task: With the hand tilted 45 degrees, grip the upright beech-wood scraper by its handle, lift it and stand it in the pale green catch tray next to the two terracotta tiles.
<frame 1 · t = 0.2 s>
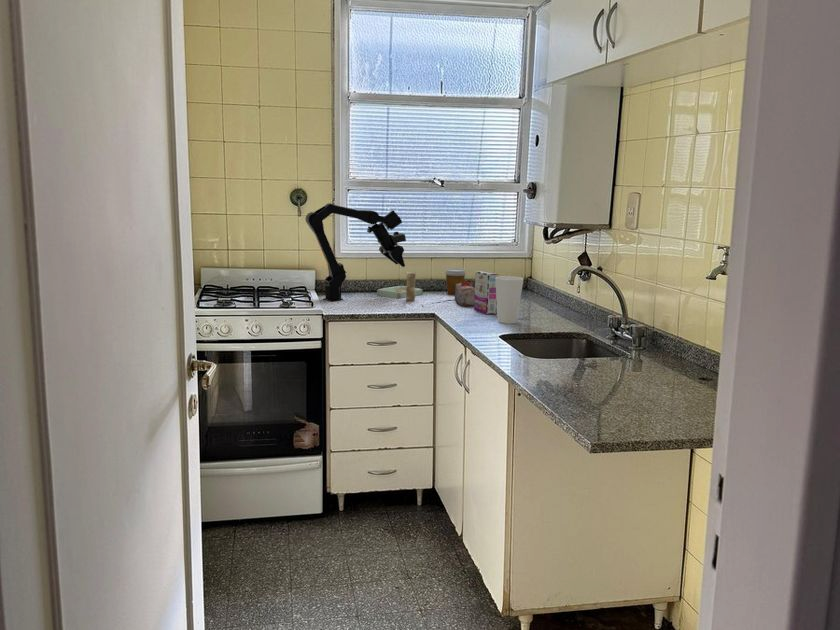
hand: (400, 265, 340), 15 cm above the worktop, tool tilted 35°, fingers open, 9 cm apart
candy bar box: (485, 312, 314), on the worktop
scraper: (410, 302, 331), on the worktop
catch tray: (399, 296, 345), on the worktop
tile a: (411, 294, 347), point 1 cm above the worktop, touching catch tray
food item: (464, 304, 331), on the worktop
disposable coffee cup: (454, 296, 352), on the worktop
tile b: (402, 292, 350), point 1 cm above the worktop, touching catch tray
cup: (507, 322, 294), on the worktop
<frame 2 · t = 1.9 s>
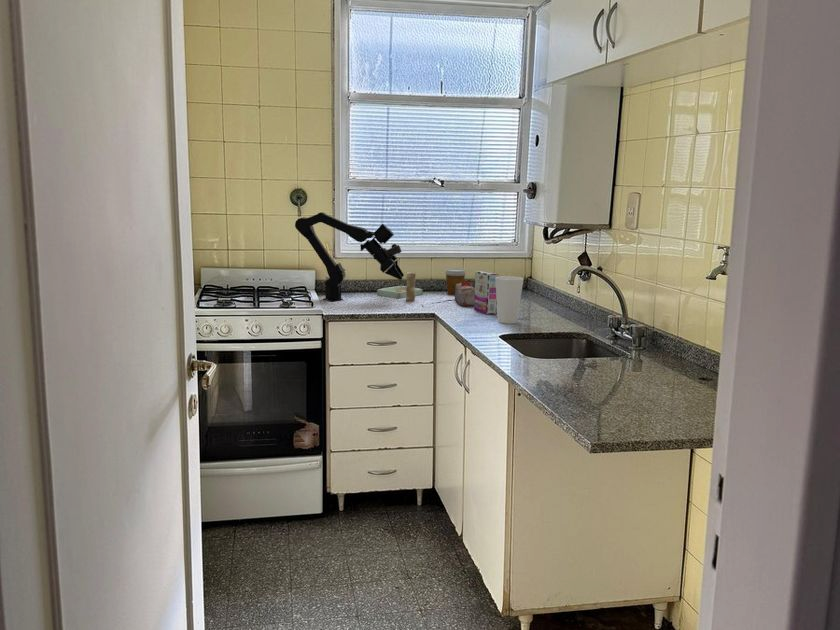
hand: (402, 277, 329), 11 cm above the worktop, tool tilted 45°, fingers open, 9 cm apart
nothing on the worktop moved.
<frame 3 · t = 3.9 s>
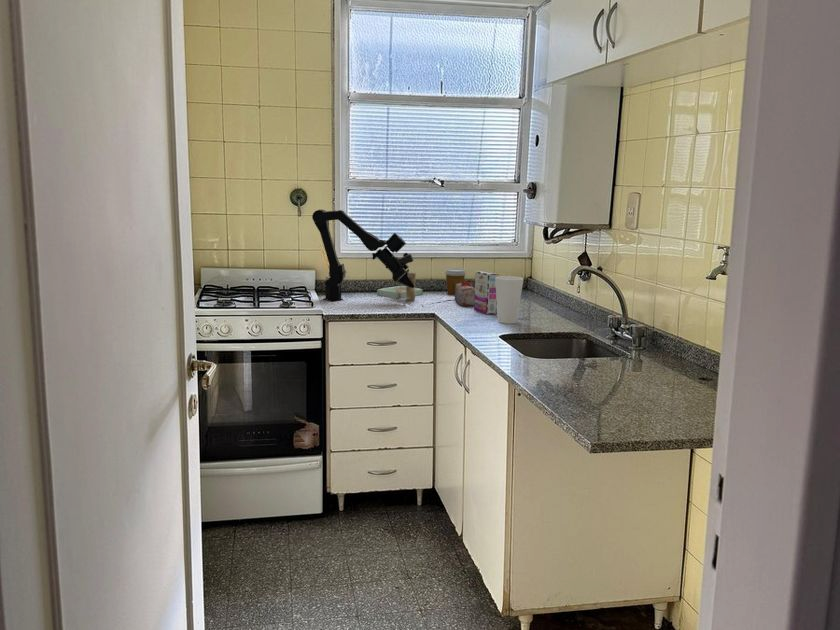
hand: (414, 286, 329), 7 cm above the worktop, tool tilted 45°, fingers closed on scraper, 4 cm apart
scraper: (410, 302, 331), on the worktop, touching gripper
everything else where it was.
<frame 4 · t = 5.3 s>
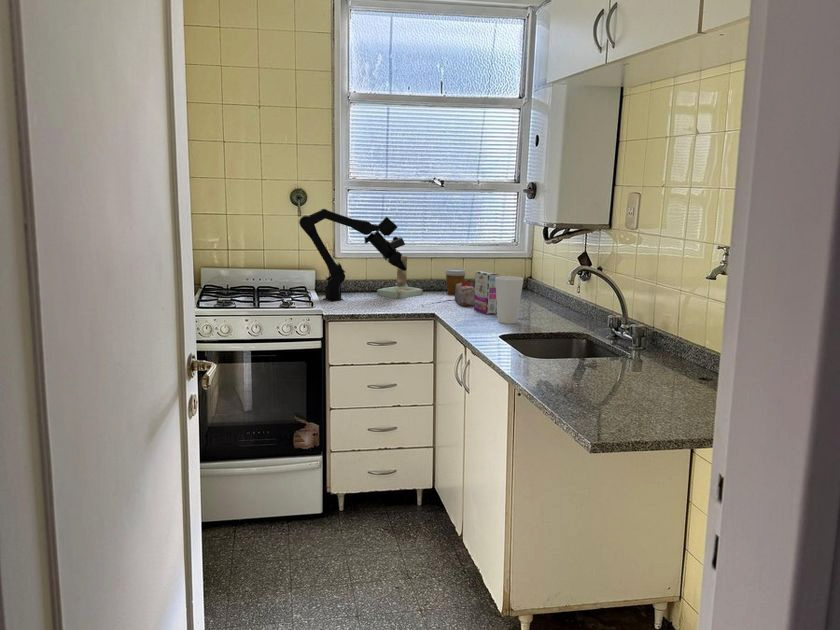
hand: (405, 269, 336), 13 cm above the worktop, tool tilted 45°, fingers closed on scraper, 4 cm apart
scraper: (401, 285, 337), point 6 cm above the worktop, touching gripper
everything else where it was.
when the fingers open (9 cm above the worktop, at t = 6.9 s): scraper drops 1 cm, resting on catch tray.
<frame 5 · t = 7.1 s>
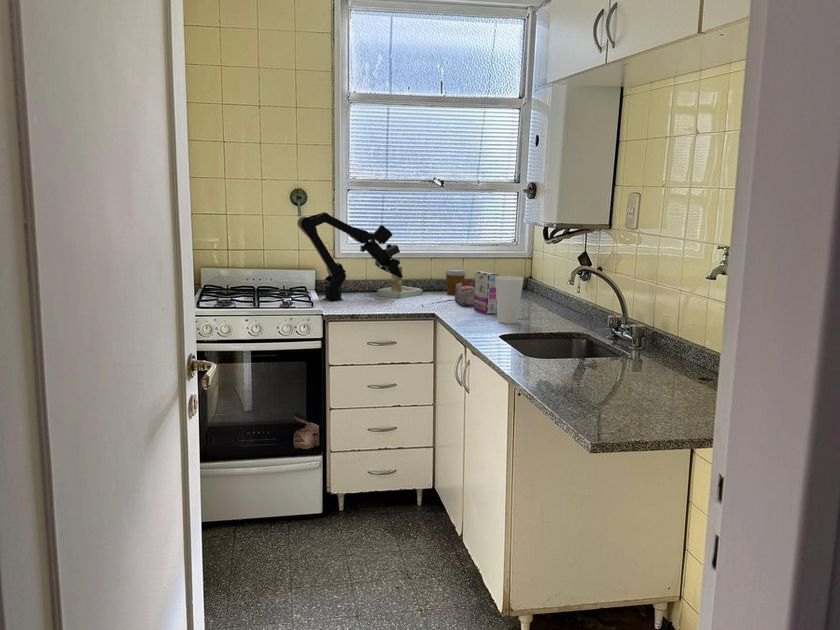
hand: (399, 276, 342), 10 cm above the worktop, tool tilted 45°, fingers open, 6 cm apart
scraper: (396, 295, 343), point 1 cm above the worktop, touching catch tray
everything else where it was.
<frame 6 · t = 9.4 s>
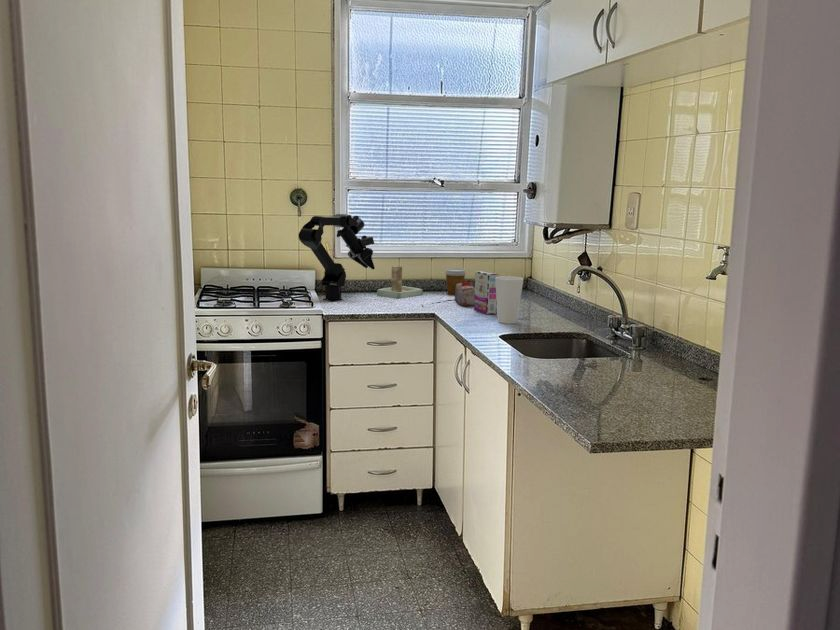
hand: (370, 268, 343), 13 cm above the worktop, tool tilted 35°, fingers open, 9 cm apart
nothing on the worktop moved.
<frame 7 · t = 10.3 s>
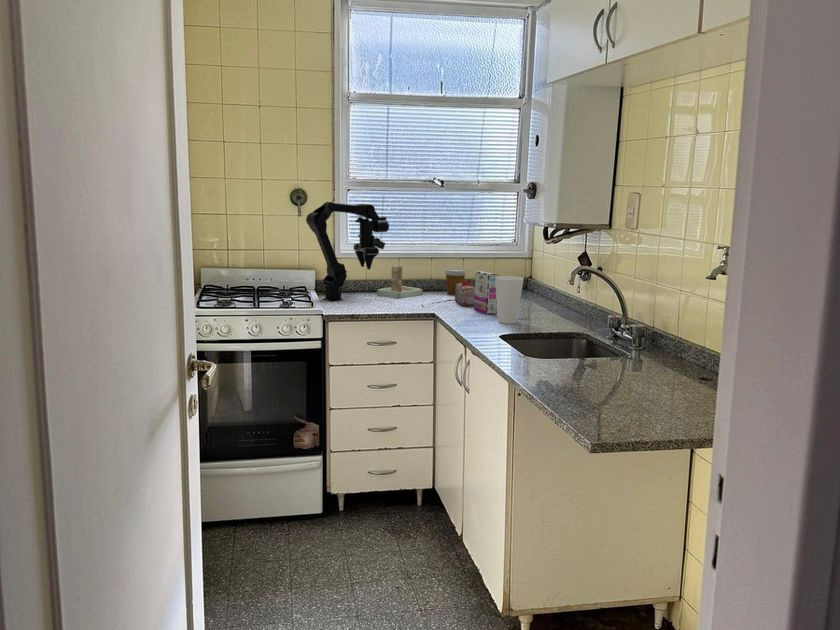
hand: (365, 268, 340), 13 cm above the worktop, tool pointing down, fingers open, 9 cm apart
nothing on the worktop moved.
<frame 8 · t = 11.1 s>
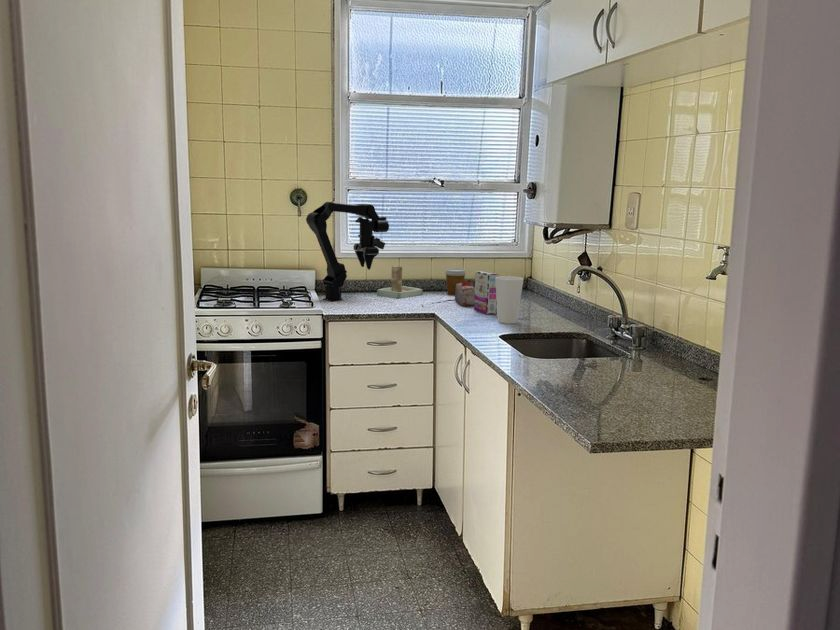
hand: (365, 268, 340), 13 cm above the worktop, tool pointing down, fingers open, 9 cm apart
nothing on the worktop moved.
at the end: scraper inside the target area on the catch tray (2.5 cm from its centre), point 1.0 cm above the catch tray's base; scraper tilted 0° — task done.
